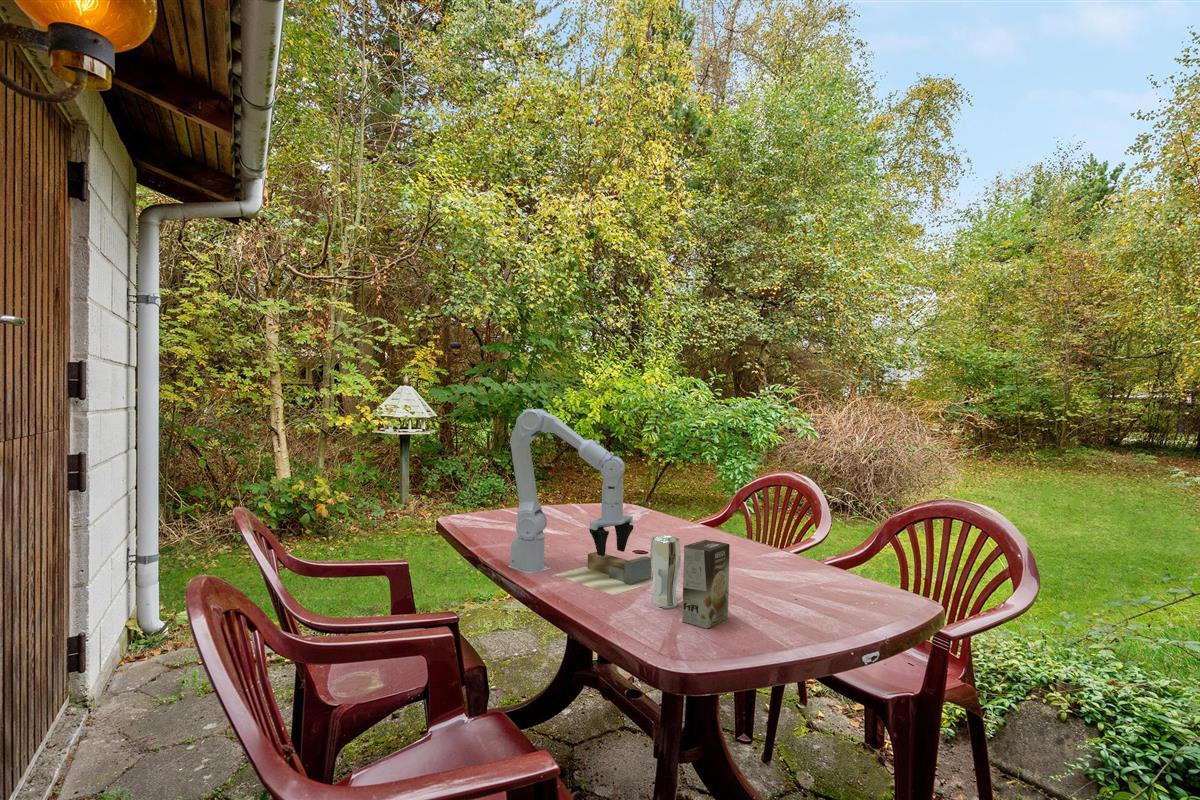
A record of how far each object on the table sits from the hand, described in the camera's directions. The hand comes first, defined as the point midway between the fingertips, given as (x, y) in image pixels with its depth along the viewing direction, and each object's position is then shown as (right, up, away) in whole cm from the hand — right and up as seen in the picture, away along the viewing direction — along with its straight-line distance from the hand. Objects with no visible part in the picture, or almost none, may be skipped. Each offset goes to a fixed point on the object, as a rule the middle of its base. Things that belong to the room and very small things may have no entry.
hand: (611, 553), depth 156 cm
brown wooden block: (0, -5, 0) cm, 5 cm away
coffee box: (+20, -6, -31) cm, 37 cm away
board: (-1, -6, -4) cm, 7 cm away
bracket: (+4, -5, -4) cm, 8 cm away
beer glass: (+12, -6, -22) cm, 26 cm away
